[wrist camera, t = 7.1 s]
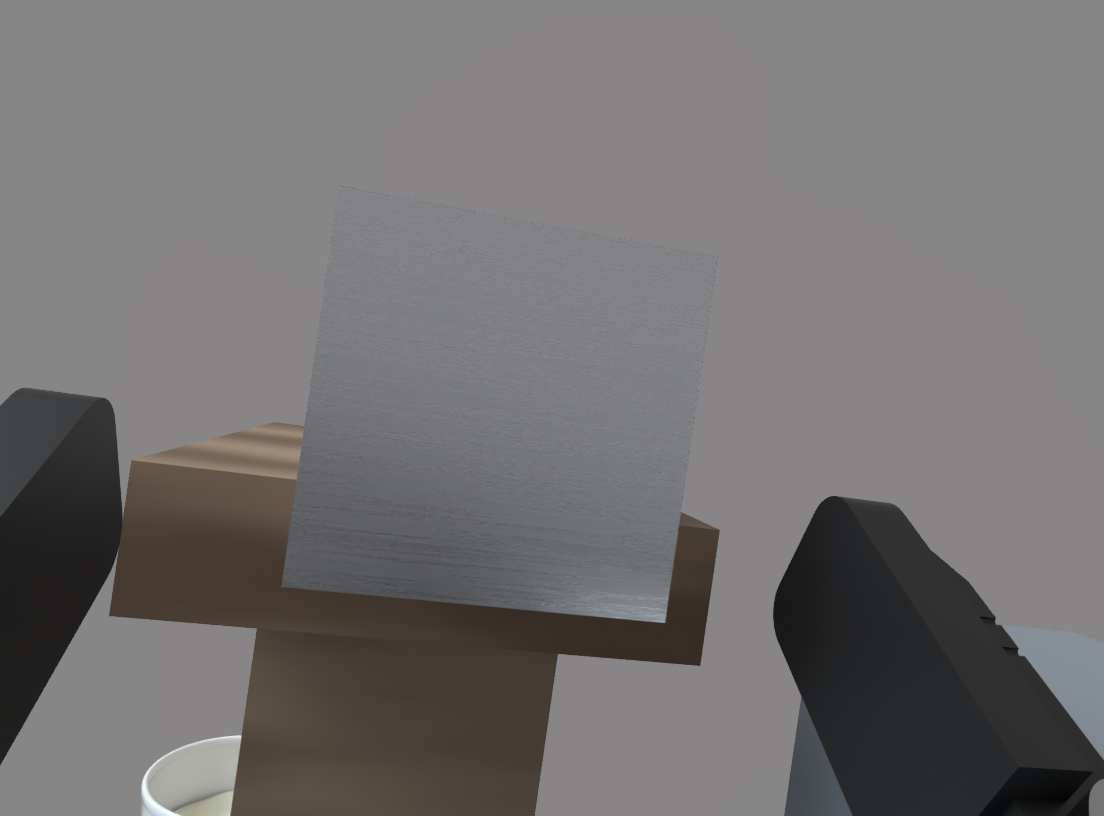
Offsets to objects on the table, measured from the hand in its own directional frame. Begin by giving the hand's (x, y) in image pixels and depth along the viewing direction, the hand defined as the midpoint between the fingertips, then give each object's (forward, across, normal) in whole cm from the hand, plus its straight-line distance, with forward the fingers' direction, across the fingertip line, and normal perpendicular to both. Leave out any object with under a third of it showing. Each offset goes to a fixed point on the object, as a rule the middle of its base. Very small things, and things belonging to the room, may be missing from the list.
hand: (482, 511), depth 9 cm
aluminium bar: (+10, 0, +7) cm, 12 cm away
